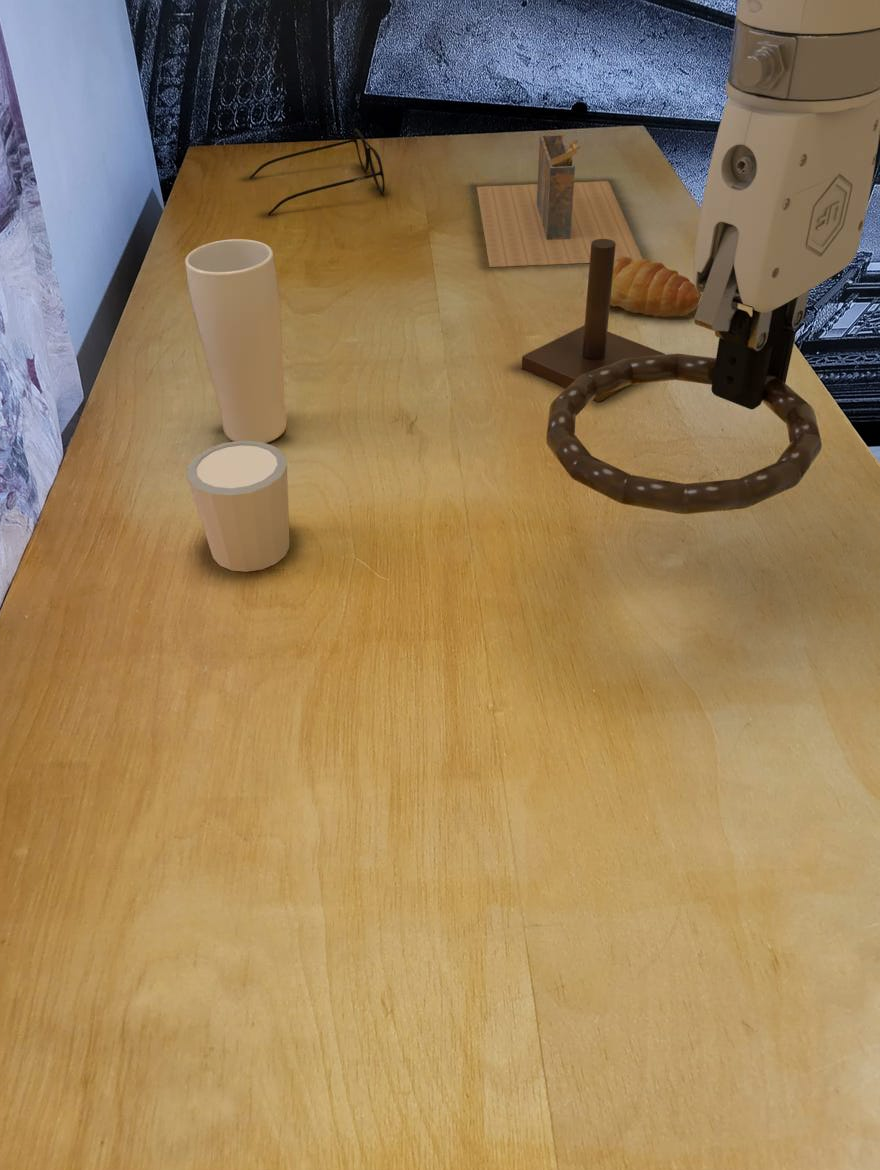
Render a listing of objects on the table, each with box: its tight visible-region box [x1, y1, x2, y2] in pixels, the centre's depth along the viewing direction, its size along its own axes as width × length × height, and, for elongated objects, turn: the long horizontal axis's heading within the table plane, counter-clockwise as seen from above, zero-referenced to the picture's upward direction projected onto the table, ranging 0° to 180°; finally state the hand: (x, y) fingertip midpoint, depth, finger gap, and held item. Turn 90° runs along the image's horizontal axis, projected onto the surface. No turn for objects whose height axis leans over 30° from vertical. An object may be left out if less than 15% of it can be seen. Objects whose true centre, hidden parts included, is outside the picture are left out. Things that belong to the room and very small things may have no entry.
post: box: [521, 239, 666, 403], centre depth 90 cm, size 9×9×11 cm
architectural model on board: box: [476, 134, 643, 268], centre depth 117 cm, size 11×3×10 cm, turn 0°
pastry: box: [610, 256, 702, 318], centre depth 101 cm, size 9×7×4 cm
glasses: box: [249, 128, 386, 216], centre depth 131 cm, size 14×15×5 cm
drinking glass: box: [184, 238, 288, 444], centre depth 83 cm, size 7×7×15 cm
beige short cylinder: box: [186, 441, 290, 573], centre depth 73 cm, size 7×7×7 cm
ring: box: [545, 353, 823, 515], centre depth 60 cm, size 15×16×2 cm
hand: (747, 391), depth 64 cm, fingers closed on ring, 1 cm apart
